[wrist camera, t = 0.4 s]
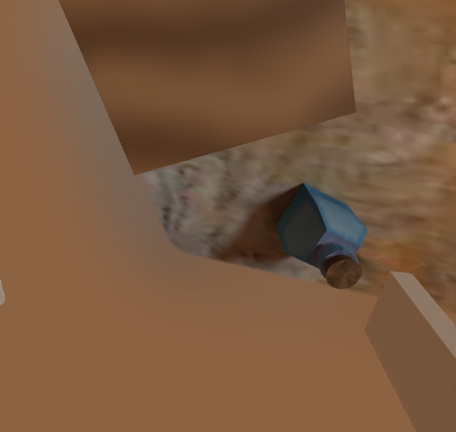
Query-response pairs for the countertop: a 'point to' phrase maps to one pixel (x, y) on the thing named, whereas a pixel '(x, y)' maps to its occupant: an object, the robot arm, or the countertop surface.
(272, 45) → the walnut box
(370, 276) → the countertop surface
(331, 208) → the perfume bottle
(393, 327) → the robot arm
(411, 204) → the countertop surface
